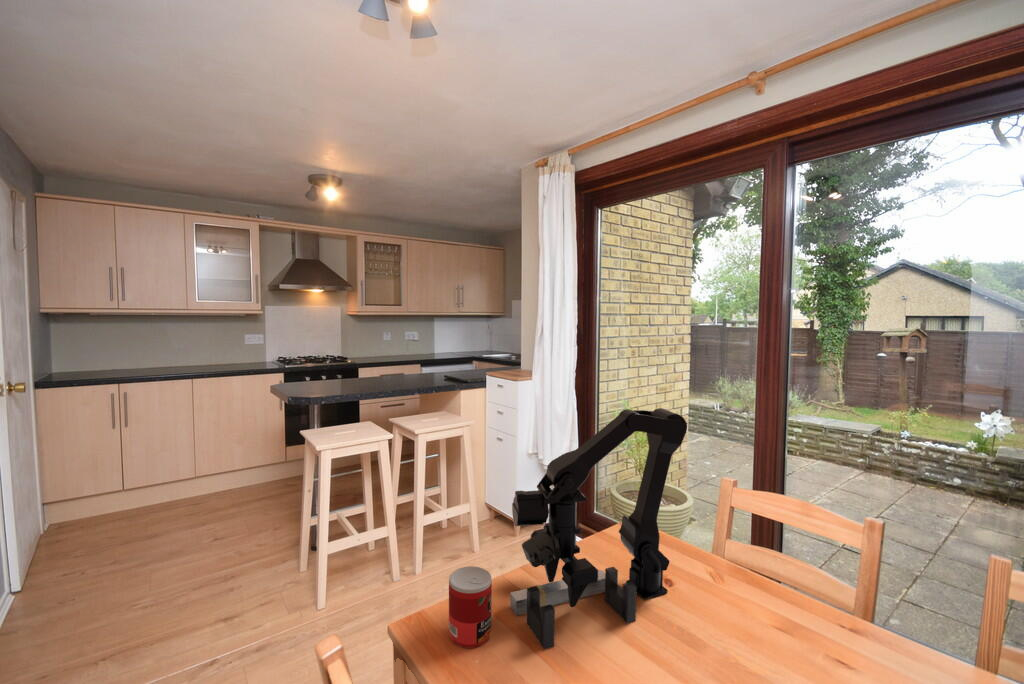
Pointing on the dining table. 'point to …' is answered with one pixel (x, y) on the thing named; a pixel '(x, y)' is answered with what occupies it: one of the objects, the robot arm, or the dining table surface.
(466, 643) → the canned food
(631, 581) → the robot arm
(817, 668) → the dining table surface
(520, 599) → the grey metal bar
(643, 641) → the dining table surface
